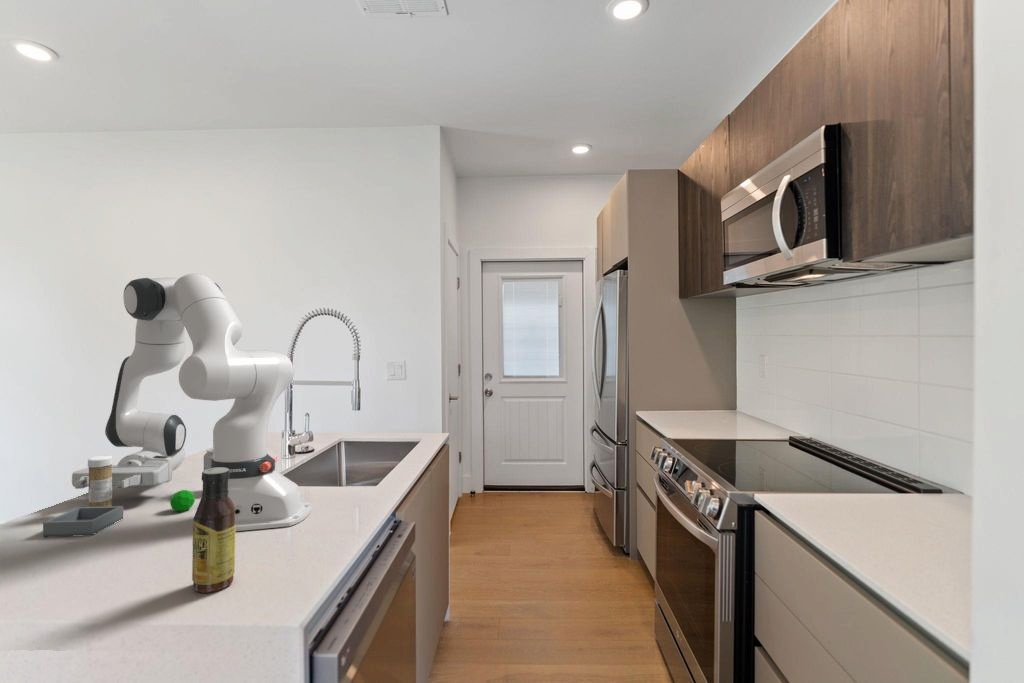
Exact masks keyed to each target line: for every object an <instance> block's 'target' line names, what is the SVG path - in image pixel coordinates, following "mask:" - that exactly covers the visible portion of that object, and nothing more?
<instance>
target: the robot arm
mask: <svg viewBox="0 0 1024 683" xmlns="http://www.w3.org/2000/svg"><path fill="white" fill-rule="evenodd" d="M122 296H123V304H124V305H123V306H124V308H125V310H126V312H127V313H128V315H130V316H131V317H132V318H133V319H136V324H135V338H134V339H135V340H134V343H135V344H134V347H133V350H132V353H131V354H130V355H128V356H127V357H125V358H124V359H123V361H122V362H121V365H120V368H119V372H118V374H117V380H116V385H115V390H114V395H113V400H112V407H111V411H110V414H109V416H108V419H107V422H106V425H105V427H104V428H105V429H104V430H105V431H104V433H105V434H104V435H105V436H106V438H107V440H108V441H109V443H111V445H113V447H115V448H116V447H117V448H134V447H135V448H142V450H141V449H140V450H139V451H136V452H134V453H131V454H130V453H129V454H128V455H126V456H123V458H121V459H120V460H119V462H118V463H117V465H114V464H112V487H117V488H119V489H121V488H123V489H125V488H130V489H132V488H133V489H136V488H140V487H143V486H144V487H145V486H159V485H161V484H164V483H165V484H166V483H169V482H171V481H172V478H173V472H174V471H176V470H177V469H178V468H179V467H180V466H181V465H182V464H183V461H184V460H185V456H186V450H185V449H184V445H185V442H186V438H187V428H186V425H185V423H184V421H183V420H182V418H181V417H180V416H179V415H177V414H173V413H172V414H170V413H158V412H157V413H156V412H147V411H140V410H138V408H137V404H138V397H139V392H140V387H141V383H142V381H143V380H144V379H145V378H146V377H150V376H154V375H158V374H162V373H164V372H168V371H170V370H172V369H174V368H175V367H178V365H180V363H181V362H182V361H183V359H184V356H185V351H186V350H185V349H186V348H185V347H186V346H185V345H186V332H187V335H188V337H189V339H190V341H191V343H192V353H191V355H190V356H188V357H187V358H186V359H185V360H184V361H183V363H182V364H181V366H180V368H179V371H178V383H179V386H180V388H181V390H182V392H183V393H184V394H185V395H186V396H187V397H189V398H190V399H194V400H200V401H201V400H202V401H214V402H215V401H225V400H232V399H234V402H233V403H232V404H233V405H232V407H231V408H230V409H229V411H228V412H227V413H226V414H225V415H224V416H222V417H221V418H219V419H218V420H217V421H216V422H215V424H214V426H213V430H212V439H213V440H212V448H213V459H212V460H211V468H216V467H225V468H228V469H229V472H230V474H229V475H230V476H229V479H228V491H229V493H228V496H229V498H230V499H231V500H232V502H233V504H234V506H235V522H236V528H235V532H240V531H250V530H253V531H254V530H262V529H263V530H264V529H273V528H274V529H276V528H285V527H292V526H294V525H297V524H298V523H301V522H302V521H303V520H305V519H306V518H307V517H308V516H309V515H310V514H311V512H312V505H311V503H310V502H304V501H303V500H302V493H301V490H300V487H299V485H298V484H297V483H296V482H294V481H292V480H291V479H290V478H288V477H286V476H284V475H283V474H282V473H280V472H279V471H277V470H276V463H277V462H278V460H277V459H278V456H274V458H273V457H272V456H271V455H269V454H268V453H267V450H268V449H267V448H268V431H269V430H268V429H269V422H270V421H269V420H270V416H271V414H272V412H273V408H274V406H275V404H276V402H277V400H278V399H279V397H280V396H281V395H282V394H283V392H284V391H286V389H288V387H290V386H291V383H292V381H293V379H294V374H295V373H294V372H295V370H294V365H293V362H292V361H291V359H290V358H289V357H288V356H287V355H286V354H285V353H282V352H278V351H272V350H267V349H265V350H264V349H263V350H239V349H237V348H236V347H235V346H234V345H236V344H237V343H238V341H240V340H241V337H242V335H243V324H242V322H241V321H240V319H239V317H238V315H237V313H236V312H235V310H234V309H233V307H232V305H231V303H230V301H229V300H228V298H227V297H226V296H225V294H224V292H223V290H222V289H221V287H220V286H219V285H218V283H216V282H215V281H213V280H212V279H211V278H210V277H208V276H207V275H206V274H202V273H189V274H185V275H183V276H180V277H179V278H178V277H155V278H149V277H142V278H135V279H132V280H130V281H129V282H128V283H127V284H126V285H125V287H124V290H123V295H122ZM185 329H186V331H185ZM71 485H72V486H73V487H74V489H76V490H77V489H78V490H79V489H85V488H89V467H85V468H82V469H79V470H76V471H74V472H73V473H72V474H71Z"/></svg>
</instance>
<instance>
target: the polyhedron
mask: <svg viewBox="0 0 1024 683" xmlns="http://www.w3.org/2000/svg"><path fill="white" fill-rule="evenodd" d="M169 501H170V502H169V503H170V507H171V509H172V510H174V512H178V511H183V512H185V510H186V511H187V510H189V509H191V508H192V507H193V505H194V504H195V501H196V498H195V495H194V493H193V492H191V491H190V490H188V489H181V490H179V491H176V492H175V493H173V495H172V496H171V499H170V500H169Z"/></svg>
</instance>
